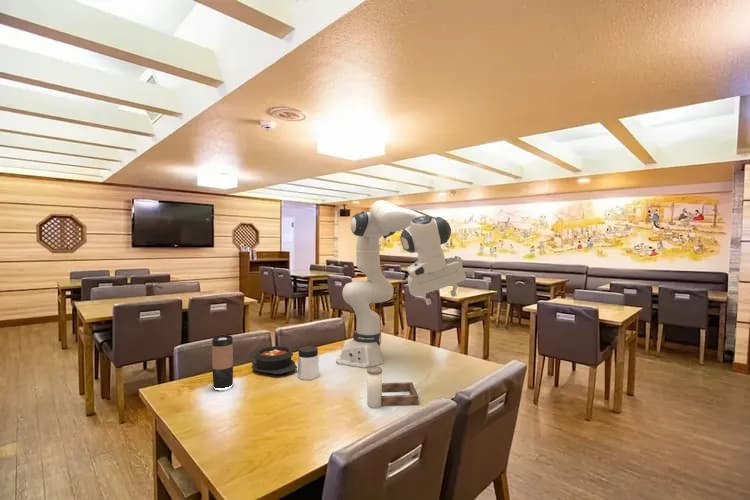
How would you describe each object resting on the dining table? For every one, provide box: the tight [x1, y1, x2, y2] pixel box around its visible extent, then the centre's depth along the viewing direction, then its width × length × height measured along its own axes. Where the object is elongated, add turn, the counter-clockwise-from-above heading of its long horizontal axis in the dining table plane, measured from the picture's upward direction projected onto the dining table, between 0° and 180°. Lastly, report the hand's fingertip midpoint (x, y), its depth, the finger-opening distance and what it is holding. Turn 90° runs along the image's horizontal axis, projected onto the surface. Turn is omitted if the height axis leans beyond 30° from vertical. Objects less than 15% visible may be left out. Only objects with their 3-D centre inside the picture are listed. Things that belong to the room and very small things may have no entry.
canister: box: [366, 365, 383, 409], centre depth 132 cm, size 5×5×13 cm
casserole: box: [251, 345, 298, 375], centre depth 168 cm, size 25×19×8 cm
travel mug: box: [211, 334, 234, 388], centre depth 147 cm, size 8×8×20 cm
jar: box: [297, 345, 320, 381], centre depth 159 cm, size 9×8×12 cm
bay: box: [381, 381, 420, 407], centre depth 139 cm, size 13×13×3 cm
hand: (441, 300), depth 130 cm, fingers open, 8 cm apart
